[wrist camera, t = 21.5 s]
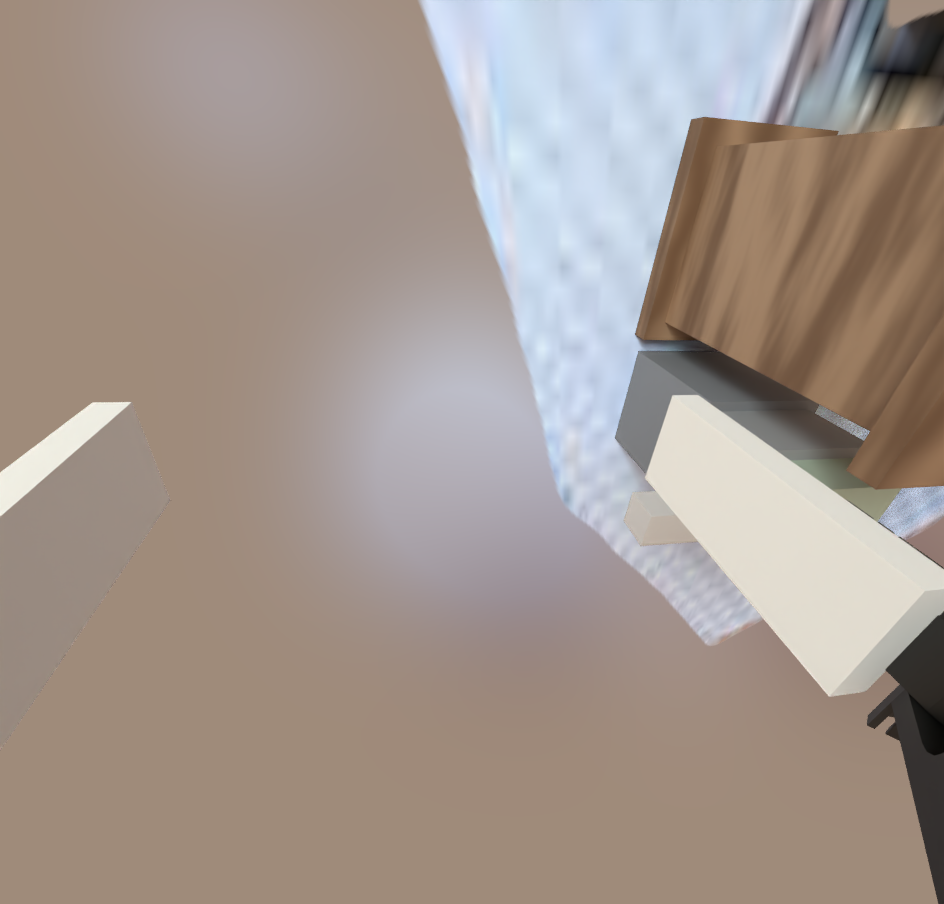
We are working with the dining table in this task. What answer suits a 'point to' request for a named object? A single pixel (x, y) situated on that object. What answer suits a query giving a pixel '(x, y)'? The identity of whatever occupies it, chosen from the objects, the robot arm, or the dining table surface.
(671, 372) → the stepped grey block
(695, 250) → the walnut stand
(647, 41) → the dining table surface
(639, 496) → the handled block
